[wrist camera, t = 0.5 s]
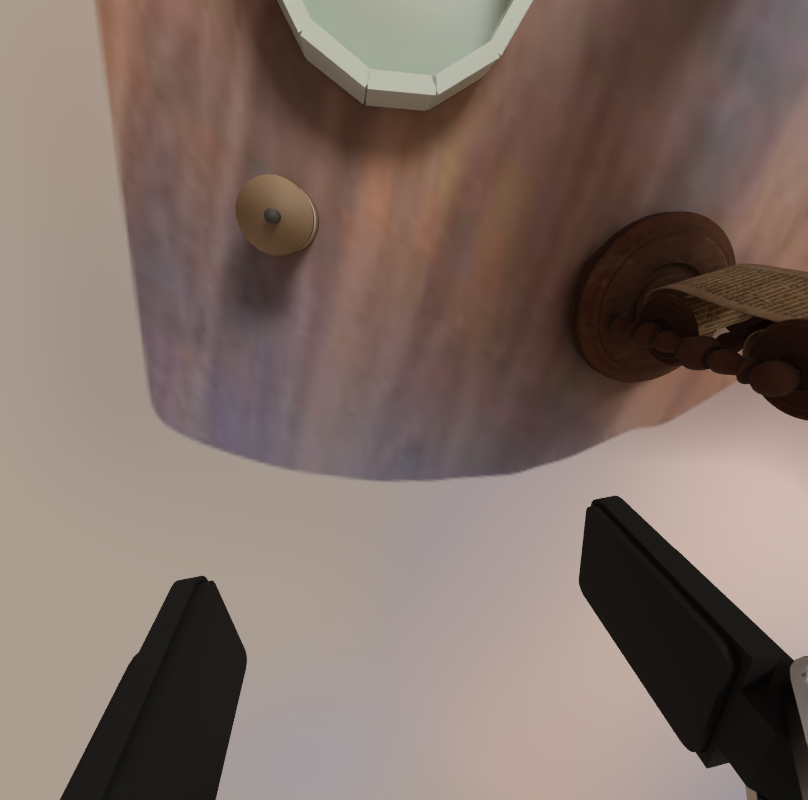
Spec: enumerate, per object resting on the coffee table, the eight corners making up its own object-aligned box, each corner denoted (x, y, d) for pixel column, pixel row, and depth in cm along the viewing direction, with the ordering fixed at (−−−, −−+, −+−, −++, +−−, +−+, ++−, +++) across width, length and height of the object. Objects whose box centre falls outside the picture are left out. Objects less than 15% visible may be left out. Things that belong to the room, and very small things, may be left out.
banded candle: (273, 171, 28) (249, 153, 21) (329, 209, 29) (323, 203, 23) (247, 229, 29) (217, 228, 23) (302, 262, 31) (289, 271, 24)
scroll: (717, 191, 33) (1178, 140, 14) (705, 348, 39) (1015, 451, 21) (554, 241, 32) (813, 253, 14) (568, 391, 39) (760, 530, 21)
